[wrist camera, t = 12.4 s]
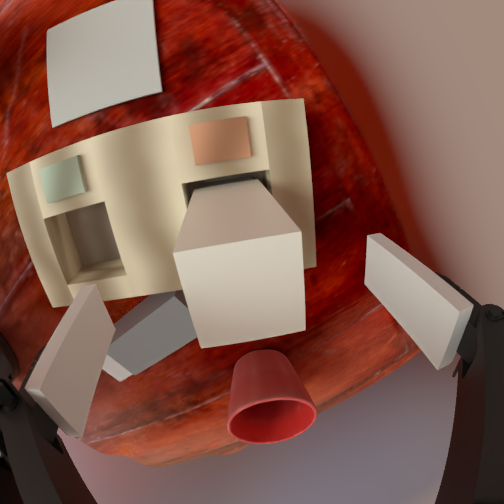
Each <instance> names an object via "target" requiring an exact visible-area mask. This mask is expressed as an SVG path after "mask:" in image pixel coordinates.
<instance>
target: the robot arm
mask: <svg viewBox="0 0 504 504" xmlns="http://www.w3.org/2000/svg"><path fill="white" fill-rule="evenodd" d="M364 284H365V285H366V286H367V287H368V289H369V290H370V291H371V292H372V293H373V294H374V295H375V296H376V297H377V299H378V300H379V301H380V302H381V303H382V304H383V305H384V307H385V308H386V309H387V310H388V311H389V312H390V313H391V315H392V316H393V317H394V318H395V319H396V320H397V322H398V323H399V324H400V325H401V326H402V327H403V329H404V330H405V331H406V332H407V333H408V334H409V336H410V337H411V338H412V339H413V340H414V342H415V343H416V344H417V345H418V347H419V348H420V349H421V350H422V351H423V353H424V354H425V355H426V356H427V357H428V359H429V360H430V361H431V362H432V364H433V365H434V366H435V368H436V369H437V370H439V369H441V368H443V367H445V366H447V365H449V364H451V363H452V361H453V359H454V356H455V354H456V352H458V354H459V355H460V356H461V358H460V360H459V362H458V364H457V367H456V369H455V371H454V373H453V377H455V375H456V373H457V372H458V385H457V397H456V407H455V415H454V416H455V417H454V423H453V430H452V436H451V441H450V447H449V452H448V457H447V461H446V466H445V470H444V474H443V478H442V482H441V485H440V489H439V492H438V495H437V498H436V502H435V504H504V310H503V309H502V308H500V307H499V306H496V305H493V304H486V305H483V306H481V305H480V304H479V303H478V302H477V301H476V300H474V299H473V298H472V297H471V296H470V295H468V294H467V293H466V292H465V291H464V290H462V289H460V287H459V286H457V285H456V284H454V282H452V281H451V280H450V279H449V278H447V277H446V276H443V275H441V274H439V273H436V272H435V273H434V272H433V271H431V270H430V269H429V268H428V267H426V266H425V265H424V264H422V263H421V262H419V261H418V260H417V259H416V258H414V257H413V256H412V255H410V254H409V253H408V252H406V251H405V250H404V249H402V248H401V247H399V246H398V245H397V244H395V243H394V242H392V241H391V240H390V239H388V238H387V237H385V236H384V235H382V234H381V233H377V234H372V235H367V252H366V270H365V283H364ZM115 330H116V329H115V327H114V325H113V322H112V320H111V318H110V316H109V314H108V311H107V309H106V307H105V305H104V302H103V300H102V298H101V295H100V293H99V290H98V288H97V285H96V284H91V285H85V286H83V287H82V288H81V290H80V291H79V293H78V294H77V296H76V297H75V299H74V300H73V302H72V304H71V305H70V307H69V308H68V310H67V311H66V313H65V315H64V316H63V318H62V320H61V321H60V323H59V325H58V326H57V328H56V330H55V331H54V333H53V335H52V336H51V338H50V340H49V342H48V344H46V345H45V346H44V347H43V348H42V349H41V350H40V351H39V353H38V354H37V356H36V358H35V360H34V361H35V362H33V364H32V366H31V369H29V371H28V373H27V375H26V377H25V379H24V381H23V383H22V385H21V387H20V389H19V392H18V390H17V389H16V388H15V387H14V385H13V384H12V382H13V381H14V380H15V378H16V376H17V374H18V371H19V366H18V362H17V359H16V357H15V355H14V353H13V351H12V349H11V348H10V346H9V345H8V343H7V342H6V340H5V339H4V338H3V337H2V335H1V334H0V453H1V456H0V504H97V502H96V501H95V499H94V498H93V496H92V494H91V493H90V491H89V490H88V488H87V486H86V485H85V483H84V481H83V480H82V478H81V476H80V474H79V473H78V471H77V469H76V467H75V465H74V463H73V461H72V460H71V458H70V456H69V454H68V452H67V450H66V447H65V445H64V443H63V441H62V439H61V438H60V436H59V435H58V434H57V430H58V427H59V428H60V429H61V430H62V431H63V432H64V433H65V434H66V435H68V436H76V437H83V433H84V429H85V425H86V421H87V418H88V414H89V410H90V407H91V403H92V399H93V396H94V393H95V389H96V386H97V383H98V380H99V376H100V373H101V370H102V367H103V364H104V361H105V358H106V355H107V352H108V349H109V346H110V344H111V341H112V338H113V335H114V333H115Z"/></svg>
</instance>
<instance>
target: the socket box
mask: <svg viewBox="0 0 504 504" xmlns="http://www.w3.org/2000/svg"><path fill="white" fill-rule="evenodd" d="M247 176H252V178H253V179H258V180H259V181H260V182H261V183H262V184H263V186H264V187H265V188H266V189H267V190H268V192H269V193H270V194H271V195H272V196H273V197H274V199H275V200H276V201H277V202H278V203H279V205H280V206H281V207H282V208H283V209H284V211H285V212H286V213H287V214H288V216H289V217H290V218H291V219H292V220H293V222H294V223H295V224H296V225H297V227H298V228H299V229H300V230H301V234H302V251H303V269H306V268H311V267H316V244H315V222H314V205H313V190H312V176H311V164H310V153H309V143H308V133H307V124H306V115H305V107H304V99H286V100H272V101H261V102H252V103H243V104H235V105H228V106H221V107H214V108H208V109H202V110H197V111H191V112H186V113H181V114H176V115H172V116H167V117H163V118H159V119H154V120H150V121H146V122H142V123H139V124H135V125H131V126H128V127H124V128H121V129H117V130H114V131H111V132H107V133H104V134H101V135H98V136H95V137H92V138H89V139H86V140H83V141H81V142H78V143H75V144H72V145H70V146H67V147H65V148H62V149H59V150H57V151H54V152H52V153H50V154H47V155H45V156H42V157H40V158H38V159H36V160H33V161H31V162H29V163H27V164H25V165H23V166H20V167H18V168H16V169H14V170H12V171H10V172H8V173H7V178H8V182H9V187H10V191H11V195H12V199H13V203H14V206H15V210H16V214H17V217H18V220H19V224H20V227H21V230H22V233H23V236H24V239H25V242H26V245H27V248H28V250H29V253H30V256H31V258H32V261H33V264H34V266H35V269H36V271H37V273H38V276H39V278H40V281H41V283H42V285H43V287H44V290H45V292H46V294H47V296H48V298H49V300H50V303H51V305H52V307H53V308H54V307H62V306H70V305H71V304H72V302H73V300H74V299H75V297H76V296H77V294H78V293H79V291H80V290H81V288H82V287H83V286H85V285H91V284H96V285H97V288H98V290H99V293H100V295H101V298H102V300H103V301H108V300H116V299H123V298H130V297H137V296H144V295H151V294H157V293H164V292H171V291H177V290H183V289H182V285H181V282H180V278H179V274H178V271H177V267H176V263H175V260H174V256H173V250H174V247H175V244H176V241H177V238H178V235H179V232H180V229H181V226H182V223H183V220H184V217H185V214H186V211H187V208H188V205H189V202H190V200H191V197H192V194H193V191H194V189H198V187H199V184H204V183H210V182H216V181H222V180H228V179H234V178H240V177H247Z"/></svg>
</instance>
